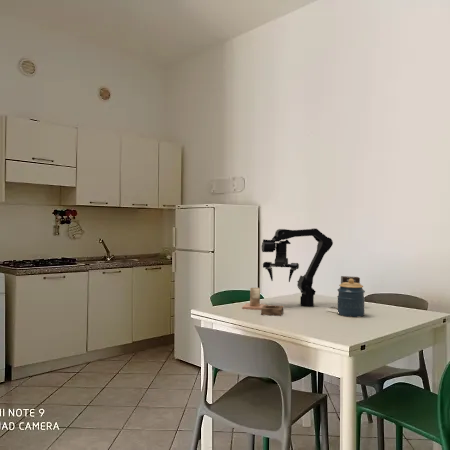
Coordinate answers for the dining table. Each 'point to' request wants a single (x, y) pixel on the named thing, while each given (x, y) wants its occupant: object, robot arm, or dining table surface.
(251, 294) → the birch peg
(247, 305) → the terracotta tile
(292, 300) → the dining table surface
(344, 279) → the coffee box
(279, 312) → the walnut pocket block
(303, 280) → the robot arm
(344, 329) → the dining table surface
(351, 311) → the canister
